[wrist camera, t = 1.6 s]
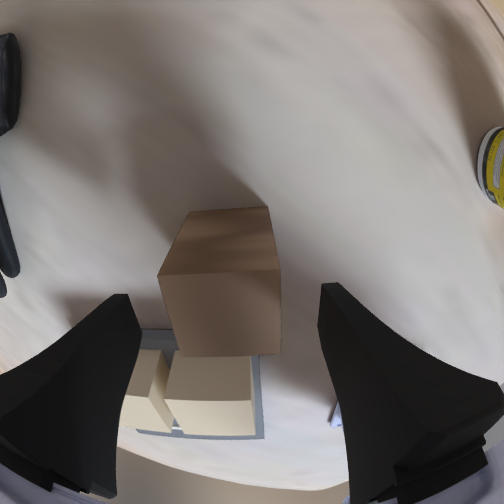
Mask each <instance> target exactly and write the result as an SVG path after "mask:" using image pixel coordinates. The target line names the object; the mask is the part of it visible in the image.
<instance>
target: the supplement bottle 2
mask: <svg viewBox="0 0 504 504" xmlns="http://www.w3.org/2000/svg"><path fill="white" fill-rule="evenodd" d="M477 171H478V180H479V184H480V187H481V190H482V192H483V193H484V195H485V196H486V197H487V198H488V199H489V200H490V201H492V202H493V203H495V204H497V205H498V206H500V207H502V208H503V209H504V127H495V128H493V129H491V130H490V131H489V132H488V133H487V134H486V135H485V137H484V139H483V141H482V143H481V146H480V149H479V154H478V164H477Z"/></svg>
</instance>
